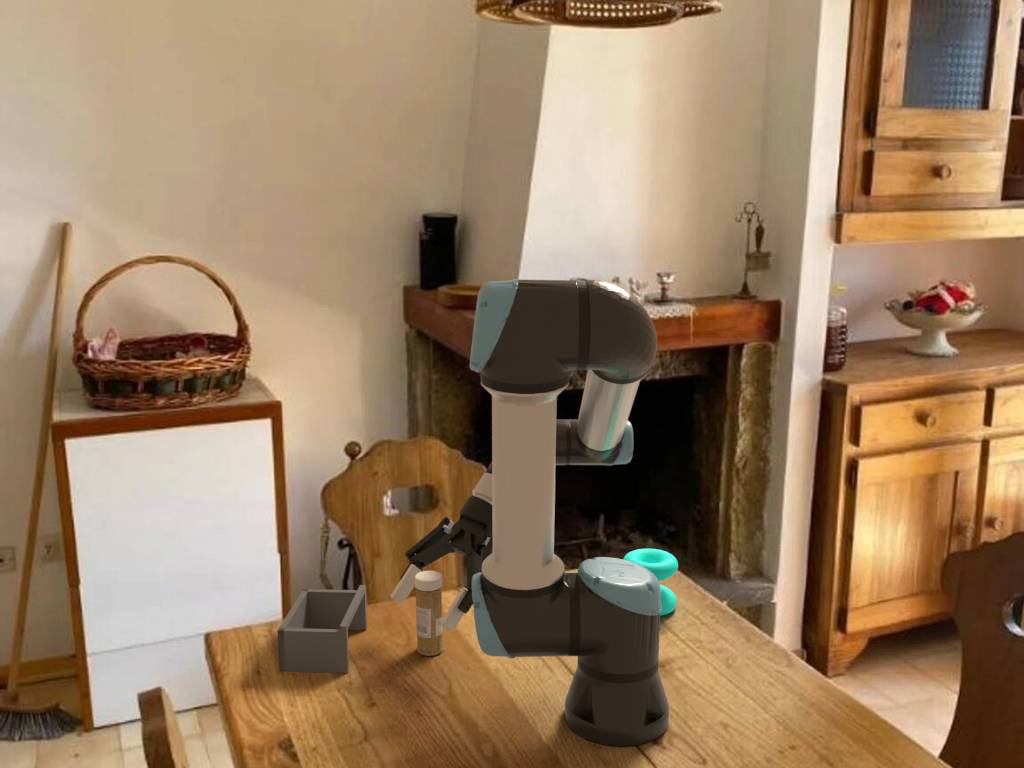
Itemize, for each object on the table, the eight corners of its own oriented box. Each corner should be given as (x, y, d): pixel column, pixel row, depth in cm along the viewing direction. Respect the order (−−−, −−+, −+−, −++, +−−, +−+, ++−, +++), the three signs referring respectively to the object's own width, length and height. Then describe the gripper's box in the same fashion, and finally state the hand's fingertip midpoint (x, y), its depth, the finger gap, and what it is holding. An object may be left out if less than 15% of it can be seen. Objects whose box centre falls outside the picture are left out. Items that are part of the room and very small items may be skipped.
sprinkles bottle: (448, 652, 163) (447, 576, 160) (424, 659, 161) (422, 582, 158) (435, 641, 167) (434, 567, 164) (411, 648, 165) (409, 573, 162)
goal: (347, 673, 156) (346, 626, 155) (279, 671, 157) (277, 624, 155) (367, 627, 172) (365, 585, 170) (304, 626, 173) (303, 583, 171)
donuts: (655, 571, 171) (611, 556, 178) (653, 624, 174) (610, 607, 181) (689, 556, 178) (645, 542, 185) (687, 607, 180) (644, 591, 187)
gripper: (551, 536, 161) (482, 650, 154) (455, 500, 179) (389, 600, 173) (527, 513, 157) (455, 629, 150) (431, 478, 175) (363, 580, 168)
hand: (420, 613), depth 161 cm, fingers open, 13 cm apart
